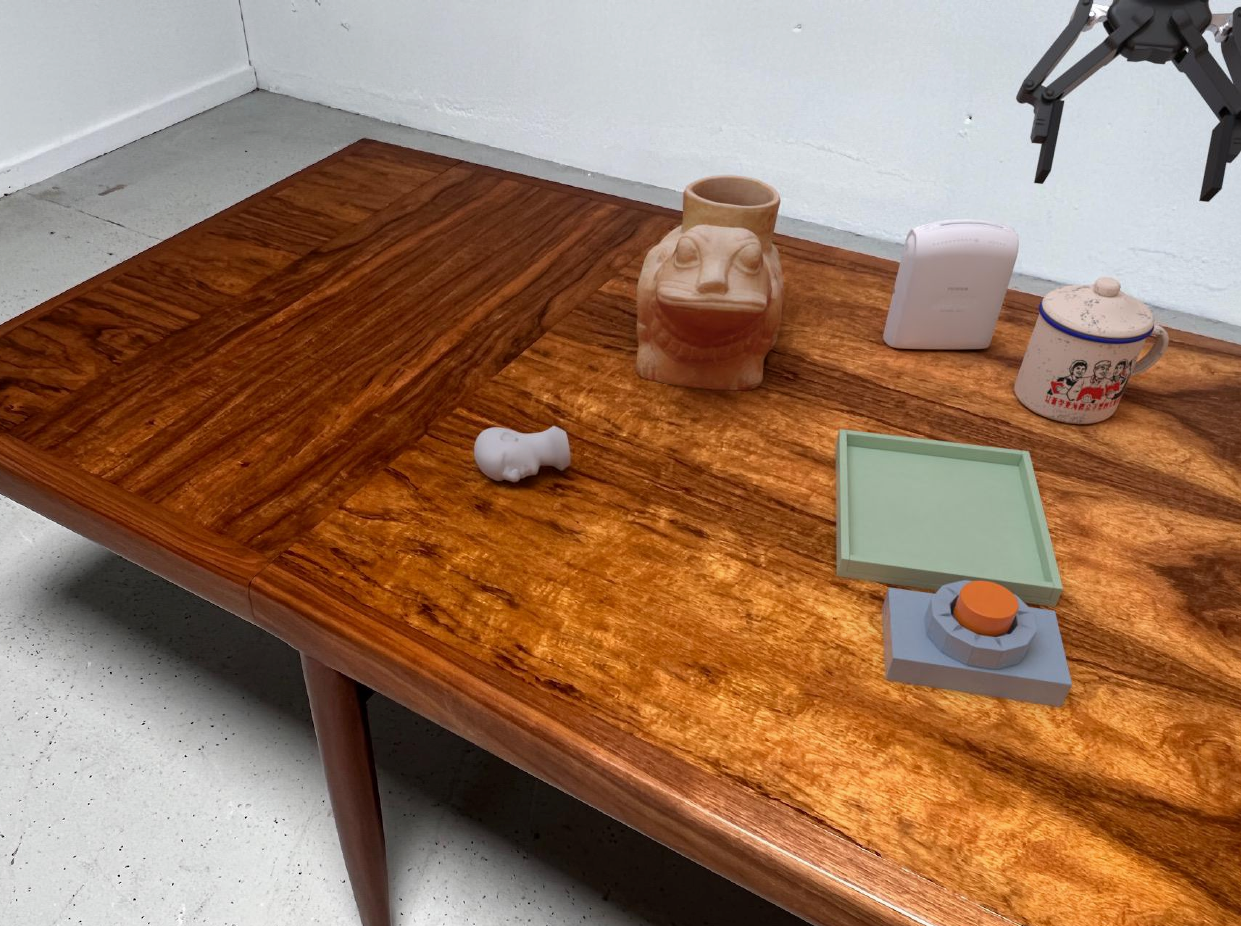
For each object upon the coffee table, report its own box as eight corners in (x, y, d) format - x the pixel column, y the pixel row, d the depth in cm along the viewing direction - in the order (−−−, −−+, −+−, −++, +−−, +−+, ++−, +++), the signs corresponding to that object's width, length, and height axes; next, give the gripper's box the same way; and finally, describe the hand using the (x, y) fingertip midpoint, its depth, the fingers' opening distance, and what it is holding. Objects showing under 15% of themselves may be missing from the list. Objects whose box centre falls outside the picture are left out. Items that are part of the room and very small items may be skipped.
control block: (1045, 633, 74) (1064, 590, 72) (1061, 708, 69) (1082, 665, 67) (881, 609, 76) (894, 567, 74) (885, 680, 71) (899, 637, 69)
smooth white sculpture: (472, 494, 89) (478, 445, 91) (569, 498, 88) (572, 448, 91) (468, 463, 85) (474, 413, 88) (568, 467, 84) (572, 416, 87)
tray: (1022, 468, 89) (1029, 451, 88) (1055, 607, 76) (1063, 588, 75) (835, 446, 92) (839, 428, 91) (836, 576, 79) (841, 558, 78)
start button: (1007, 603, 72) (1015, 584, 70) (1014, 641, 69) (1022, 621, 68) (951, 595, 72) (957, 576, 71) (955, 632, 69) (963, 613, 68)
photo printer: (886, 352, 104) (917, 230, 96) (876, 330, 107) (905, 211, 99) (994, 354, 104) (1034, 232, 96) (981, 332, 107) (1018, 212, 99)
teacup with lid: (1036, 429, 94) (1082, 308, 86) (993, 375, 101) (1032, 259, 93) (1169, 423, 94) (1226, 303, 87) (1117, 370, 101) (1165, 254, 94)
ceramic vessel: (615, 405, 97) (626, 249, 87) (651, 277, 116) (663, 137, 107) (771, 423, 94) (800, 264, 85) (780, 289, 114) (805, 147, 104)
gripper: (1304, -7, 96) (1263, 220, 95) (1009, -27, 102) (967, 187, 101) (1350, -62, 89) (1305, 183, 88) (1029, -79, 95) (984, 150, 94)
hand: (1124, 186), depth 94 cm, fingers open, 13 cm apart
